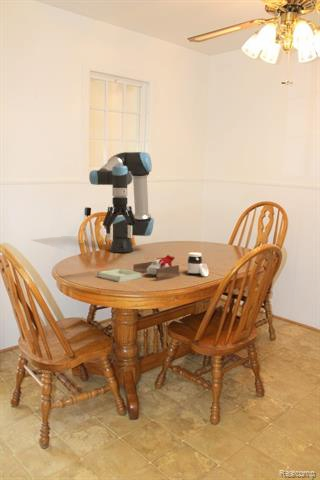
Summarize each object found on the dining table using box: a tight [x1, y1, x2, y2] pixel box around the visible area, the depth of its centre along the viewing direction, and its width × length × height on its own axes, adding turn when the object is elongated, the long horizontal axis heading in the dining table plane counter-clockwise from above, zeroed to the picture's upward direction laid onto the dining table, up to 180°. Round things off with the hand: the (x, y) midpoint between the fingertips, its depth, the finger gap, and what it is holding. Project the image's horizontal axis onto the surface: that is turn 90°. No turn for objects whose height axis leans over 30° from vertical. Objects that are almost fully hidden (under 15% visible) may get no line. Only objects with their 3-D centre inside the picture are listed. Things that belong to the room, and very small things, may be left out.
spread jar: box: [187, 252, 209, 278], centre depth 222 cm, size 12×11×12 cm
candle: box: [146, 254, 175, 276], centre depth 218 cm, size 9×11×15 cm
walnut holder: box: [132, 261, 181, 282], centre depth 218 cm, size 18×17×6 cm
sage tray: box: [97, 268, 143, 283], centre depth 213 cm, size 17×15×3 cm
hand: (119, 238), depth 212 cm, fingers open, 13 cm apart
